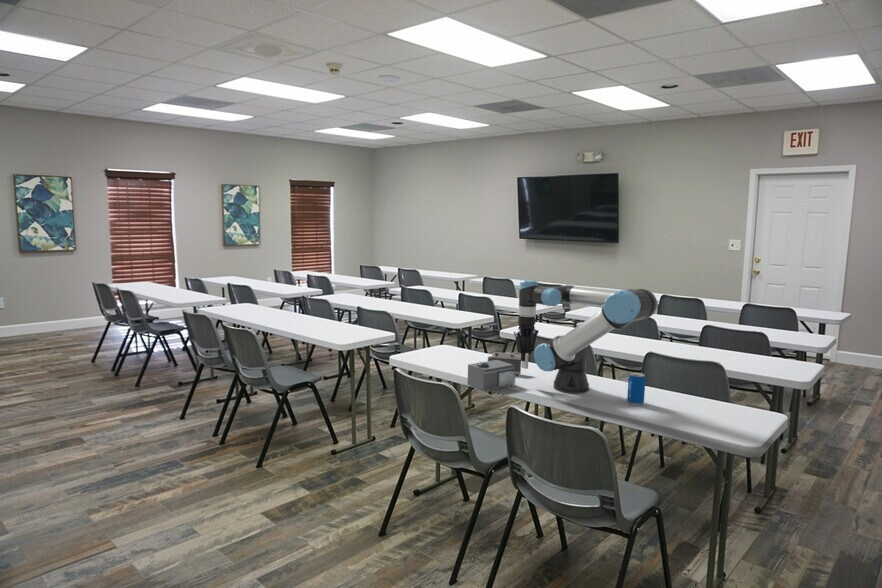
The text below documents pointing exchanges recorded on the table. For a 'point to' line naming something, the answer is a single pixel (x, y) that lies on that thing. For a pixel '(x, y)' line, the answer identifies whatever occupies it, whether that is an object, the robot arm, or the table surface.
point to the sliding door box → (487, 374)
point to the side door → (506, 378)
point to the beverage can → (636, 388)
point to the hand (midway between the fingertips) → (524, 367)
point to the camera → (508, 360)
